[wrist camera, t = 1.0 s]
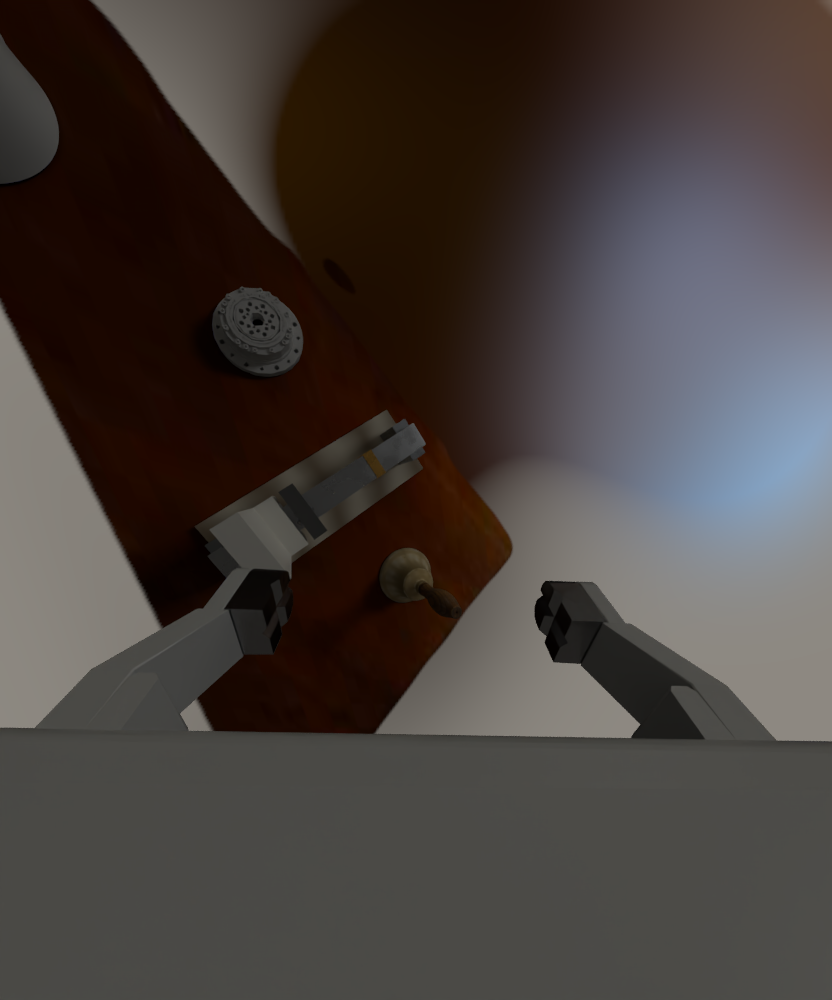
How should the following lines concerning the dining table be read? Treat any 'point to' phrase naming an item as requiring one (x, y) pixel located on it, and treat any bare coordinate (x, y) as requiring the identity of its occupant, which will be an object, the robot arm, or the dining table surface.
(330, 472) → the base board
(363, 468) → the grey clamp fixture
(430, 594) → the hand bell
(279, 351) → the mechanical component
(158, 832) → the robot arm
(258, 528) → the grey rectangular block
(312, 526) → the dark grey rubber pad
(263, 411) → the dining table surface
